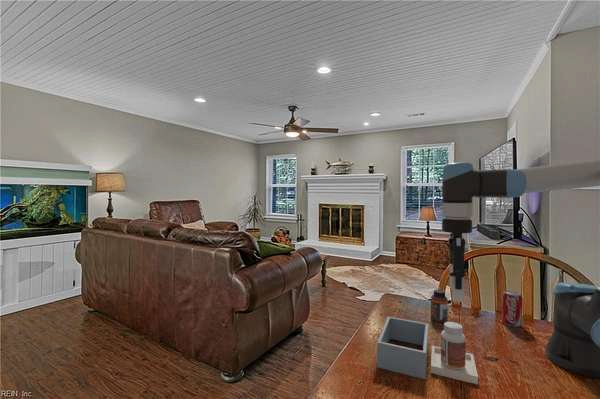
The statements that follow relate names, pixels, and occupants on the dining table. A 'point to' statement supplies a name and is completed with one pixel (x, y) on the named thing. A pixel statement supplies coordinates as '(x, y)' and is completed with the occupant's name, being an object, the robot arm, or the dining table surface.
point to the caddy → (402, 356)
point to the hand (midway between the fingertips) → (456, 293)
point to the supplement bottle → (439, 306)
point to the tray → (464, 374)
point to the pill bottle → (453, 346)
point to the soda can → (512, 308)
